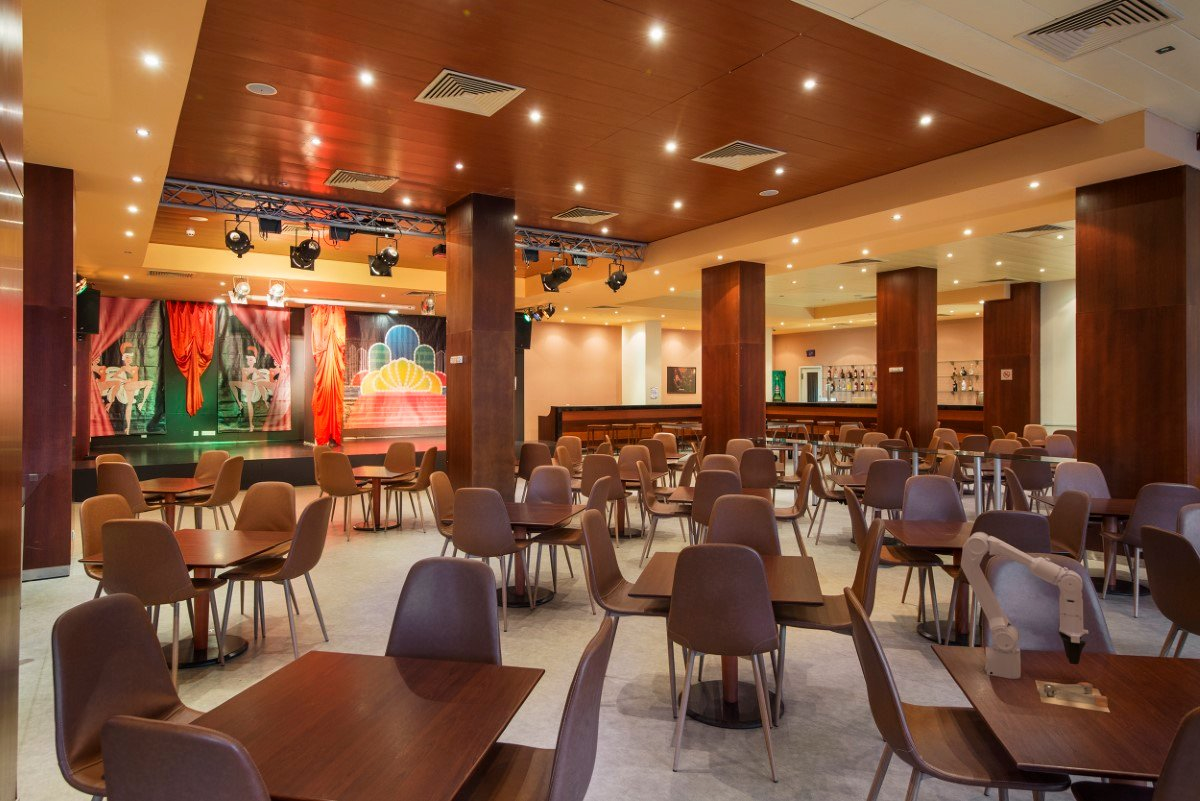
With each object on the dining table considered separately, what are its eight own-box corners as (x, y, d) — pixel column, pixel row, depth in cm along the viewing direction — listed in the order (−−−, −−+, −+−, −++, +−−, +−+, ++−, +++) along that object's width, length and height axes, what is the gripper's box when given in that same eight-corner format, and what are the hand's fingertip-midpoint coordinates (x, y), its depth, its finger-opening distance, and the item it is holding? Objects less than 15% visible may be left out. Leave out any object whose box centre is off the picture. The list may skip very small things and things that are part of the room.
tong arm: (1053, 694, 196) (1053, 686, 196) (1048, 691, 198) (1048, 683, 198) (1093, 693, 196) (1092, 685, 196) (1087, 690, 199) (1087, 682, 199)
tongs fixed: (1040, 697, 194) (1039, 687, 194) (1038, 691, 198) (1038, 681, 198) (1107, 707, 187) (1107, 696, 187) (1104, 701, 191) (1104, 691, 191)
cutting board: (1041, 706, 191) (1041, 701, 191) (1035, 684, 207) (1035, 680, 207) (1110, 716, 184) (1110, 712, 184) (1098, 693, 200) (1097, 688, 200)
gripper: (1092, 621, 195) (1093, 671, 194) (1083, 609, 208) (1085, 655, 207) (1062, 618, 198) (1063, 667, 198) (1055, 606, 211) (1056, 651, 210)
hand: (1072, 660), depth 203 cm, fingers open, 5 cm apart
